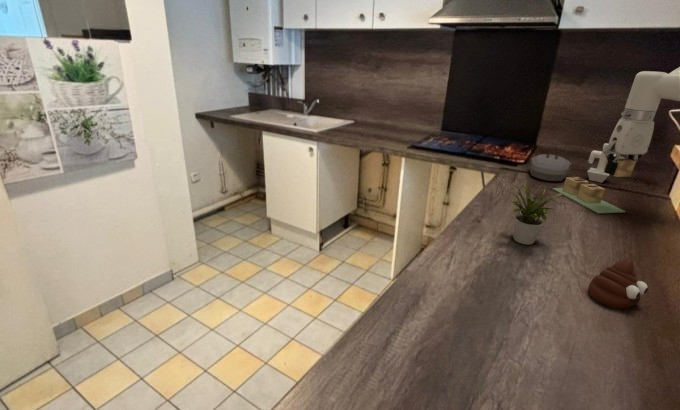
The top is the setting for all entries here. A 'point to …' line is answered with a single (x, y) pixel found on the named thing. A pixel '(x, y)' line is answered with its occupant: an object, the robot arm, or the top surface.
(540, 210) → the house plant
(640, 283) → the poop emoji
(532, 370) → the top surface
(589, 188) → the letter I
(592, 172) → the figurine
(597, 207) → the word mat
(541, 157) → the small grey backpack
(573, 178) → the letter L
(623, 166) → the letter T
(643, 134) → the robot arm
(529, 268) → the top surface
